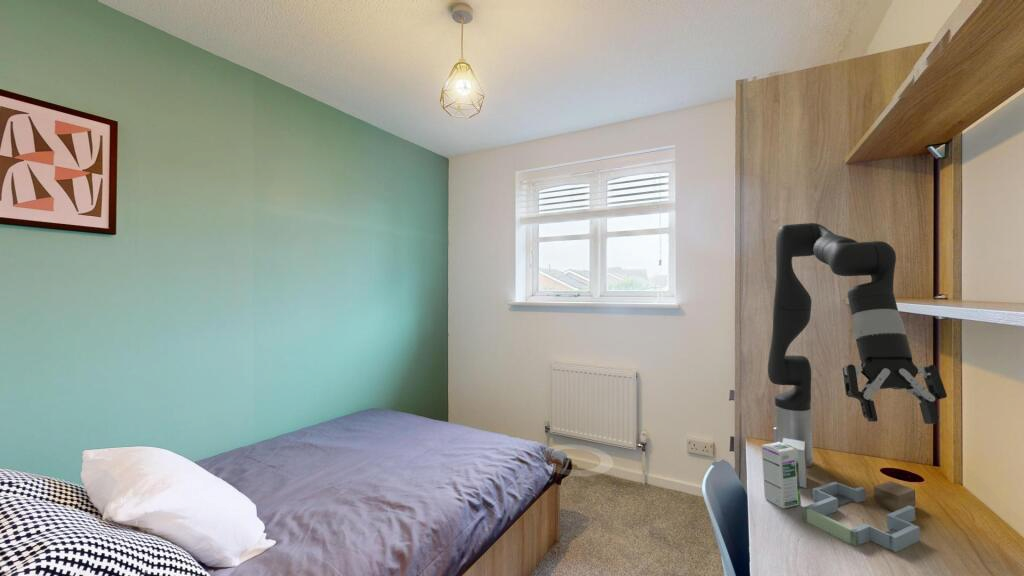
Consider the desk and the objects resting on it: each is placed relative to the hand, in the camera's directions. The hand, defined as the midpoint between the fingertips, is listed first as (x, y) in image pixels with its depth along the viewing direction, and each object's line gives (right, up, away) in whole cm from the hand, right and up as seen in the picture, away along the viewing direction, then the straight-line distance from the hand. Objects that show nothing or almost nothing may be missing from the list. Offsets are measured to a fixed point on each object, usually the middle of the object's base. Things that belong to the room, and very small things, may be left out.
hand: (901, 422), depth 75 cm
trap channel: (+11, -30, +22) cm, 39 cm away
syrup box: (-1, -31, +31) cm, 44 cm away
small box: (+10, -31, +42) cm, 53 cm away
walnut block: (+24, -30, +27) cm, 47 cm away
